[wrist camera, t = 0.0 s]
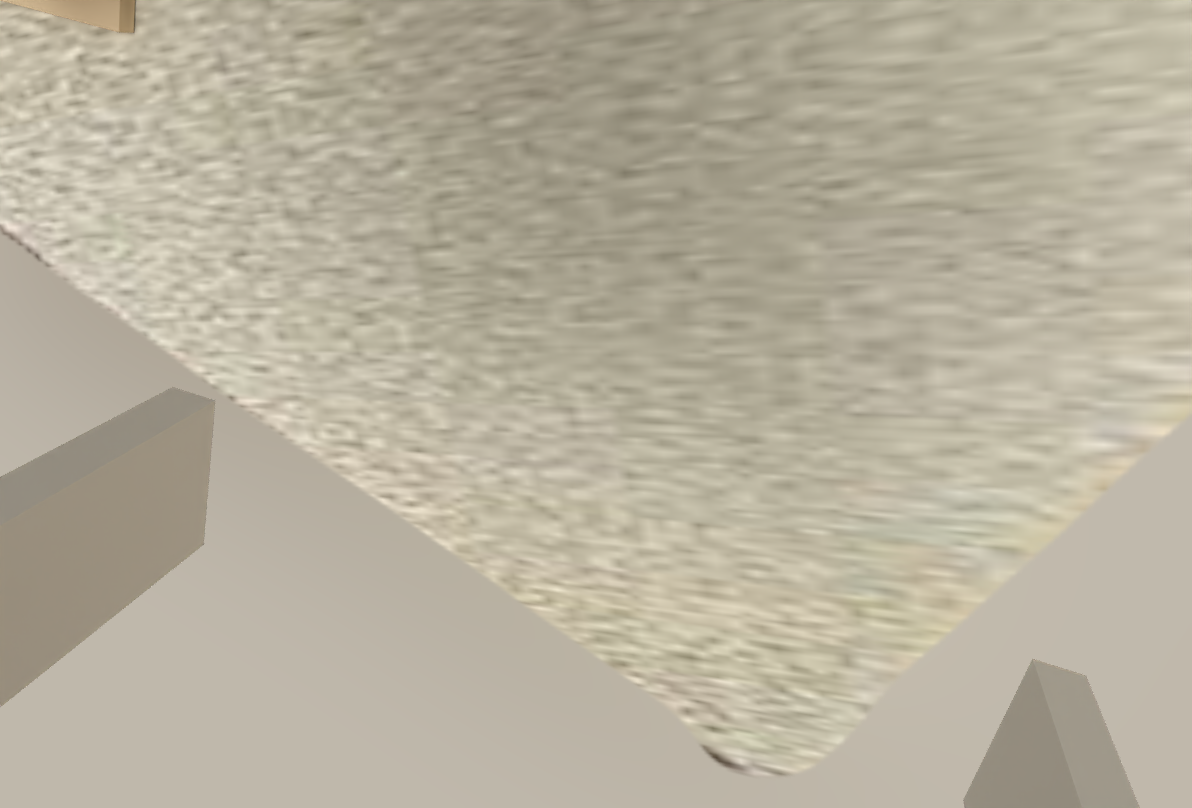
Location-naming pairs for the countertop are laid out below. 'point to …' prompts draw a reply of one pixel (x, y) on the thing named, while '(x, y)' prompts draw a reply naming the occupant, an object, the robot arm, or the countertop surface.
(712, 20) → the countertop surface
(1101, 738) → the robot arm
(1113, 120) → the countertop surface
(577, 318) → the countertop surface
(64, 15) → the broken strip
